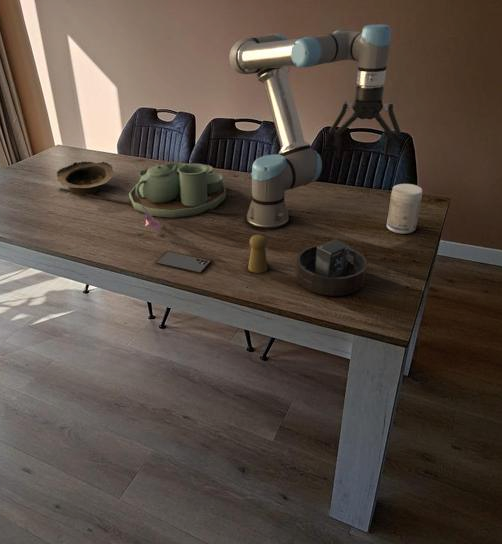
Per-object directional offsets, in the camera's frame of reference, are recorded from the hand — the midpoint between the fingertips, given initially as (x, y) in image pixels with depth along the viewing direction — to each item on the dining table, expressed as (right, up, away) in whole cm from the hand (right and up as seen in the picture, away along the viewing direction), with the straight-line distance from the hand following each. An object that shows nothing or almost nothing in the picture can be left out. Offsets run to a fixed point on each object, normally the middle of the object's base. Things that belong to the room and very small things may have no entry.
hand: (361, 157), depth 154 cm
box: (-11, -37, -5) cm, 39 cm away
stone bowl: (-97, +2, +70) cm, 120 cm away
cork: (-31, -34, +4) cm, 46 cm away
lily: (-66, -21, +29) cm, 75 cm away
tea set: (-57, -4, +55) cm, 79 cm away
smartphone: (-55, -32, +9) cm, 64 cm away
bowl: (-11, -37, -4) cm, 39 cm away
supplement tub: (+21, -20, +20) cm, 35 cm away
